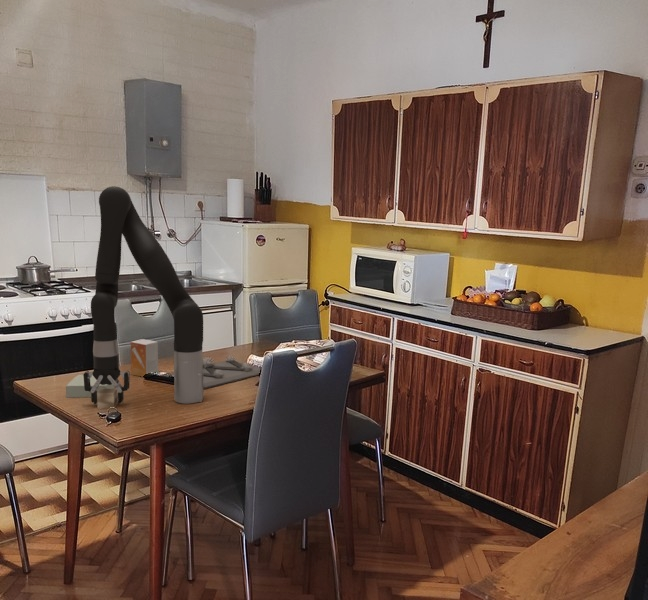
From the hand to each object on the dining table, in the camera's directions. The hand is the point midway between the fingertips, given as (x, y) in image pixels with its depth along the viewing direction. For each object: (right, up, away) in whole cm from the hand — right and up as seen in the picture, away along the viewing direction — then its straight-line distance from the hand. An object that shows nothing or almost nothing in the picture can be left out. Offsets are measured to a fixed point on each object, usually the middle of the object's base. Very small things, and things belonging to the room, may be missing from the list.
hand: (107, 403), depth 187 cm
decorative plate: (+29, +3, +36) cm, 47 cm away
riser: (-11, +2, +14) cm, 18 cm away
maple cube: (0, -1, 0) cm, 1 cm away
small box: (+1, +4, +35) cm, 35 cm away
